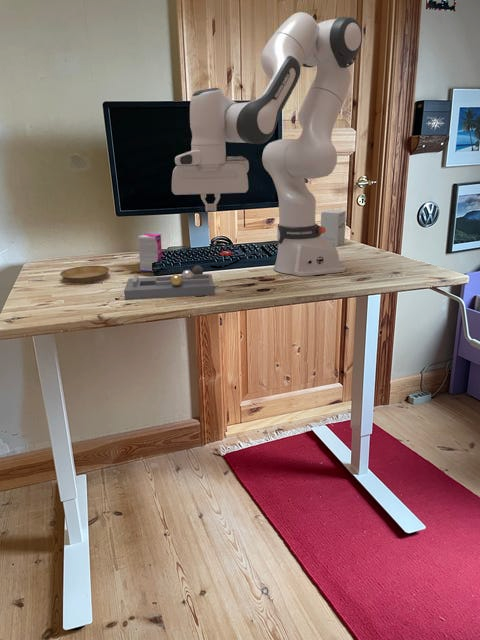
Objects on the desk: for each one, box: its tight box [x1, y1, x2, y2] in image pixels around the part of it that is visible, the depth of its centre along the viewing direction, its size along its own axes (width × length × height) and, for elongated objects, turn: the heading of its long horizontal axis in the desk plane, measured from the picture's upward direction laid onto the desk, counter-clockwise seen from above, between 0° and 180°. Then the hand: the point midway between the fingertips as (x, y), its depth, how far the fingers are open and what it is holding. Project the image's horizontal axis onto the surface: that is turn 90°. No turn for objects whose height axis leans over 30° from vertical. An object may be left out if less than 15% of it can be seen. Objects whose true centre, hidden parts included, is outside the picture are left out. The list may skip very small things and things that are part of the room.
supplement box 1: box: [137, 233, 163, 273], centre depth 161 cm, size 6×6×12 cm
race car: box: [218, 250, 234, 256], centre depth 168 cm, size 13×5×4 cm, turn 147°
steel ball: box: [181, 269, 193, 280], centre depth 140 cm, size 3×3×3 cm
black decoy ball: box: [191, 264, 204, 275], centre depth 144 cm, size 3×3×3 cm
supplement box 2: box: [320, 209, 347, 248], centre depth 190 cm, size 7×7×13 cm
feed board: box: [123, 273, 215, 301], centre depth 140 cm, size 24×12×4 cm, turn 96°
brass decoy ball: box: [170, 274, 182, 286], centre depth 136 cm, size 3×3×3 cm
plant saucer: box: [59, 265, 110, 285], centre depth 155 cm, size 15×15×3 cm
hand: (210, 210), depth 134 cm, fingers closed
